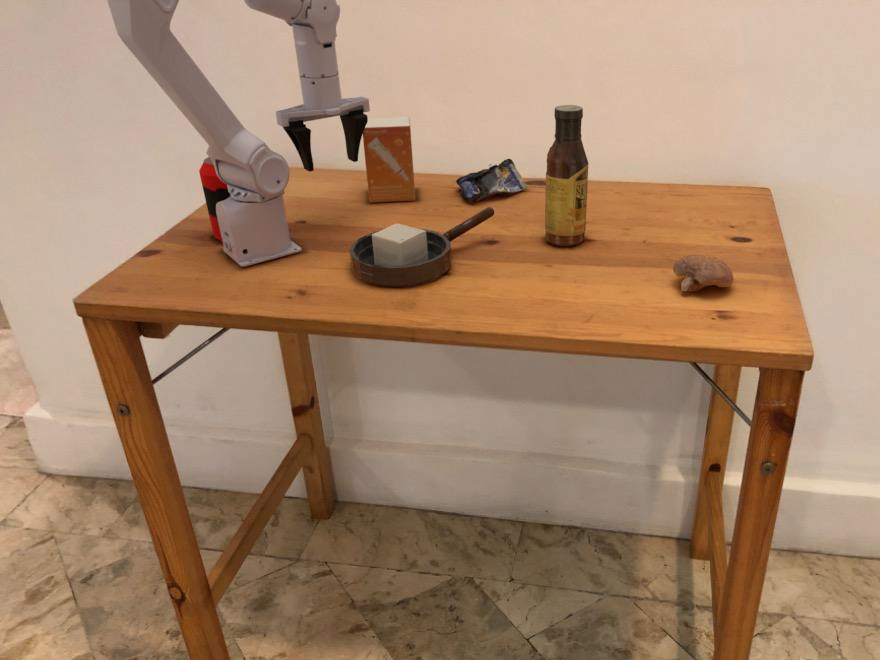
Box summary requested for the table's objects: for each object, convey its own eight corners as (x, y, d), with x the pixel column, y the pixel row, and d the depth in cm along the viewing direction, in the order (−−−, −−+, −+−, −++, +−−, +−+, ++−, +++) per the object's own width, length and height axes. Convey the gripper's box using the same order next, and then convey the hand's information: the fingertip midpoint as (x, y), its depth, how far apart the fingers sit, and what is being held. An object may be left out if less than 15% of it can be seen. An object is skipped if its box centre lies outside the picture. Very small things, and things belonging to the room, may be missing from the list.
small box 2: (429, 261, 115) (427, 229, 112) (403, 275, 111) (400, 242, 108) (399, 252, 117) (396, 221, 115) (373, 266, 113) (369, 234, 111)
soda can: (216, 246, 121) (198, 169, 115) (212, 229, 127) (195, 155, 121) (266, 239, 124) (252, 163, 117) (260, 222, 130) (246, 149, 123)
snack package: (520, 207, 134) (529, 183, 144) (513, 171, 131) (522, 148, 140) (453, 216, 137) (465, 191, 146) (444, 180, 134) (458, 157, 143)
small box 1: (369, 203, 136) (360, 127, 129) (369, 191, 142) (361, 117, 135) (416, 201, 137) (410, 125, 130) (415, 189, 143) (409, 115, 136)
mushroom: (707, 307, 103) (749, 277, 105) (688, 265, 101) (731, 236, 104) (673, 309, 110) (714, 281, 112) (654, 270, 108) (696, 243, 111)
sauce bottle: (582, 249, 119) (588, 114, 108) (541, 246, 120) (543, 112, 109) (587, 233, 124) (593, 103, 114) (548, 230, 125) (550, 101, 115)
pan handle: (446, 244, 116) (445, 221, 115) (440, 241, 118) (439, 218, 116) (496, 229, 121) (496, 207, 119) (491, 227, 122) (490, 204, 120)
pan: (383, 298, 106) (381, 276, 104) (335, 263, 116) (332, 243, 114) (470, 270, 113) (469, 249, 111) (418, 240, 123) (416, 220, 121)
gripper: (284, 86, 111) (299, 180, 118) (375, 71, 118) (384, 162, 125) (264, 77, 115) (280, 169, 123) (353, 64, 123) (363, 151, 130)
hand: (331, 164), depth 124 cm, fingers open, 7 cm apart
